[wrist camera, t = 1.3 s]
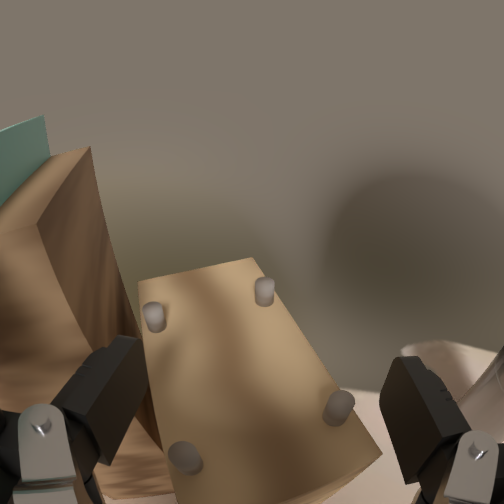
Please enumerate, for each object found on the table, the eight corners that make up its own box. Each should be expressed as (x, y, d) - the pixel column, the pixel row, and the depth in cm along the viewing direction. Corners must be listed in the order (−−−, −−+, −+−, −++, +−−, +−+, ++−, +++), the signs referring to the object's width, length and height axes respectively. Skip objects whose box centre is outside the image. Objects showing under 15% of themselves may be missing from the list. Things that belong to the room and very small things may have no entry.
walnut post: (172, 406, 34) (90, 146, 17) (195, 488, 25) (36, 223, 7) (102, 417, 31) (-25, 182, 14) (114, 499, 22) (-115, 277, 4)
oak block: (253, 398, 36) (252, 240, 23) (309, 511, 22) (395, 442, 9) (186, 416, 33) (132, 264, 20) (228, 537, 20) (177, 524, 7)
